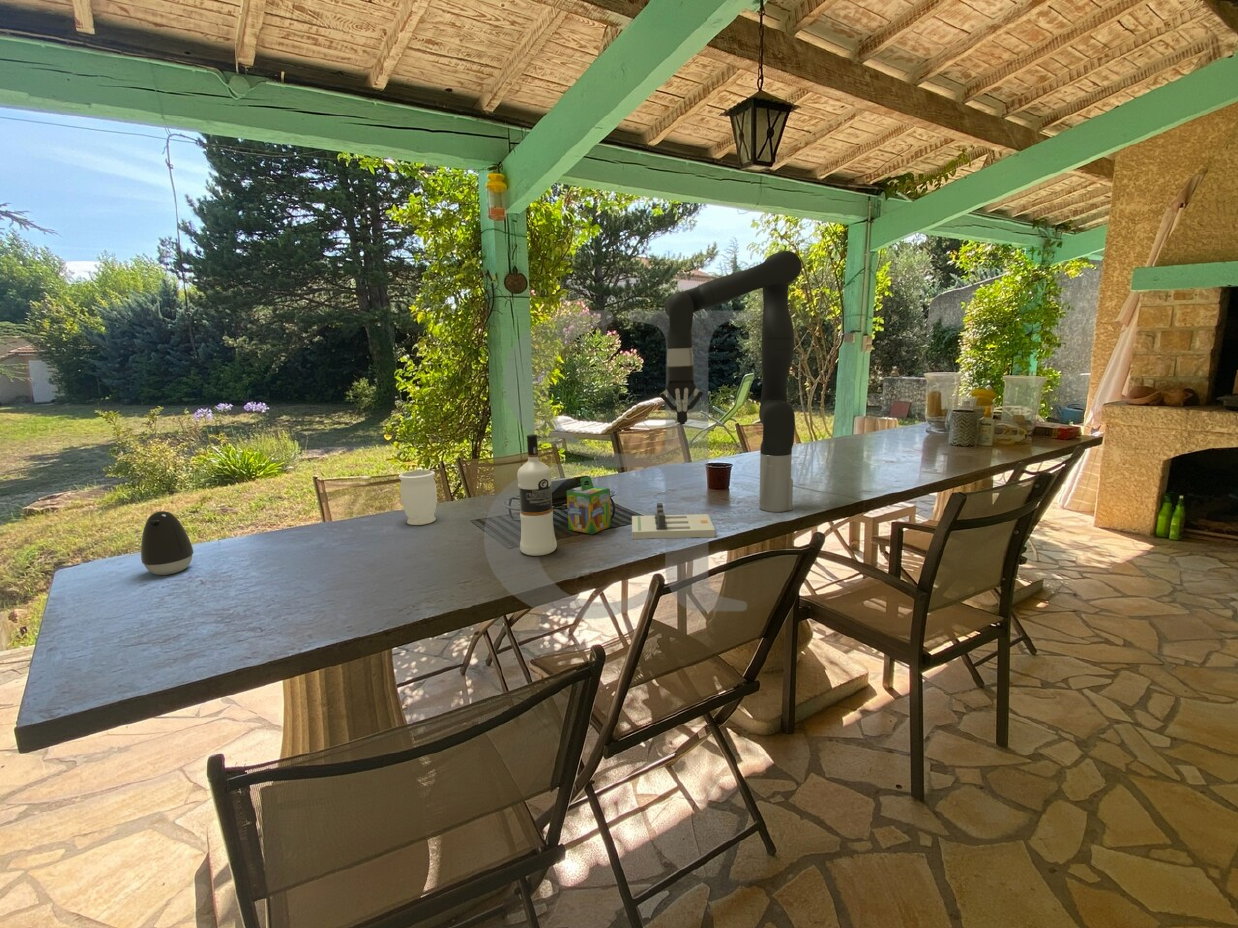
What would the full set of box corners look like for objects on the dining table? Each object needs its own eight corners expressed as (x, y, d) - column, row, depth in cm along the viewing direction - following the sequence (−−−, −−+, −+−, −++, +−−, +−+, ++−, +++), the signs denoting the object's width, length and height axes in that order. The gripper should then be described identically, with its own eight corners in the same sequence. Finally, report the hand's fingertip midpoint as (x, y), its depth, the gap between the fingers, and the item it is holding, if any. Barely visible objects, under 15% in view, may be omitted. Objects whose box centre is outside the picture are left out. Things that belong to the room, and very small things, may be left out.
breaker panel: (707, 520, 176) (707, 513, 176) (715, 537, 162) (715, 529, 161) (632, 522, 177) (631, 515, 176) (632, 539, 162) (632, 531, 162)
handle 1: (664, 514, 175) (664, 502, 175) (665, 518, 172) (664, 505, 171) (654, 515, 175) (654, 502, 175) (655, 518, 172) (655, 505, 171)
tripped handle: (665, 519, 170) (664, 507, 170) (665, 523, 167) (665, 510, 166) (655, 520, 170) (654, 507, 170) (655, 523, 167) (655, 510, 167)
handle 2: (666, 525, 165) (666, 512, 165) (667, 528, 162) (667, 515, 162) (656, 525, 166) (656, 512, 165) (656, 528, 162) (656, 515, 162)
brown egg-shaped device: (135, 581, 142) (123, 519, 139) (156, 566, 152) (144, 508, 149) (185, 576, 145) (174, 515, 142) (202, 561, 155) (192, 504, 152)
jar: (432, 526, 179) (428, 476, 176) (398, 527, 180) (392, 477, 177) (443, 516, 190) (439, 469, 187) (410, 517, 190) (406, 470, 187)
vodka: (546, 542, 162) (540, 430, 156) (563, 551, 154) (557, 434, 148) (514, 549, 157) (506, 434, 151) (530, 559, 149) (522, 438, 143)
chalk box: (592, 535, 166) (589, 482, 163) (567, 530, 172) (564, 479, 169) (612, 526, 174) (611, 476, 171) (588, 522, 179) (586, 472, 176)
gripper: (701, 362, 179) (702, 421, 182) (656, 365, 179) (658, 423, 182) (705, 363, 171) (706, 424, 175) (658, 366, 171) (660, 427, 175)
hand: (682, 424), depth 178 cm, fingers closed
